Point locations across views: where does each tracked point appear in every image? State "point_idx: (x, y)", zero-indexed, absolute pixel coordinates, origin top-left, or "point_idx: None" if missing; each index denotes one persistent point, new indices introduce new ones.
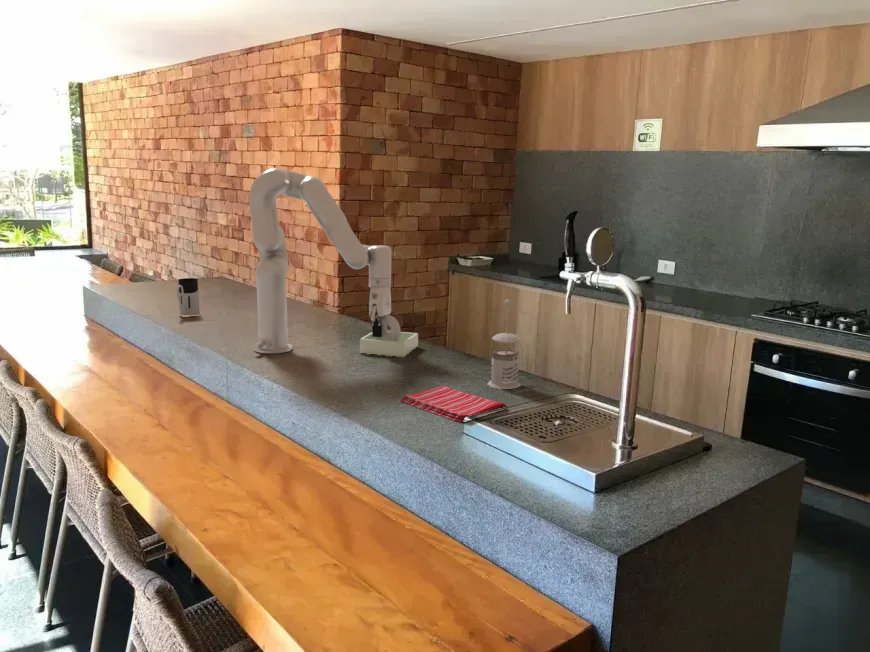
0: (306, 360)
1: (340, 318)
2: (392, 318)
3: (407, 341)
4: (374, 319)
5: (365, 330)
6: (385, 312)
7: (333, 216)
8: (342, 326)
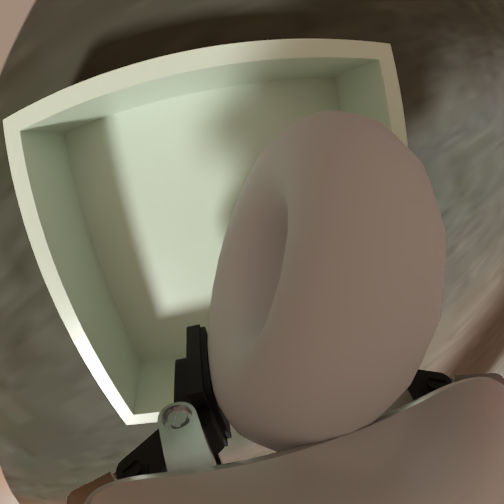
0: (461, 363)
1: (26, 500)
2: (438, 264)
3: (317, 40)
4: (489, 376)
5: (31, 453)
6: (425, 450)
7: None
8: (62, 494)
